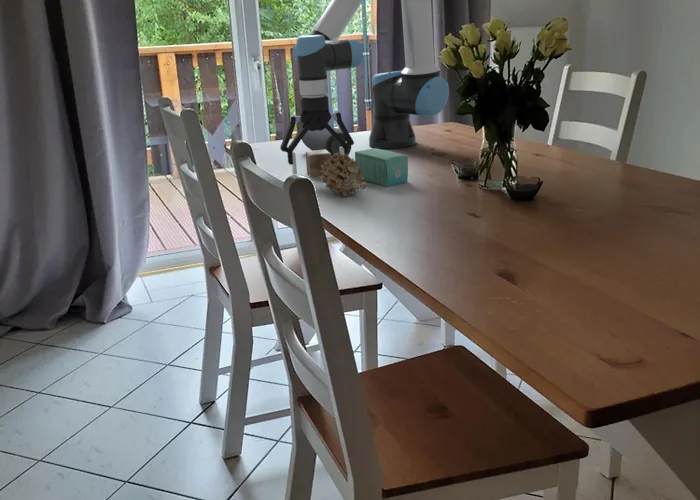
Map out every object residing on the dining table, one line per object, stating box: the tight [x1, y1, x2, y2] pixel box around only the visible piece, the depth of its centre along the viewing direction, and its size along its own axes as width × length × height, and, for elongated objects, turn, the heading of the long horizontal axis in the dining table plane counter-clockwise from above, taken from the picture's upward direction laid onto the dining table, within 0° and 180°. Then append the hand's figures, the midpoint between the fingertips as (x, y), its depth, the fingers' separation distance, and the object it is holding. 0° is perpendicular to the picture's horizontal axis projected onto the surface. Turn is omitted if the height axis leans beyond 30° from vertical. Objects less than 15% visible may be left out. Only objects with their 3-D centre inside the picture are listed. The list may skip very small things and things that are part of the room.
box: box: [354, 147, 409, 188], centre depth 183 cm, size 7×14×8 cm, turn 37°
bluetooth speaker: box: [301, 125, 352, 156], centre depth 212 cm, size 23×9×10 cm, turn 22°
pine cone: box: [319, 153, 368, 197], centre depth 169 cm, size 22×10×10 cm, turn 28°
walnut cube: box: [305, 149, 331, 178], centre depth 193 cm, size 6×6×6 cm
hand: (319, 173), depth 194 cm, fingers open, 13 cm apart
